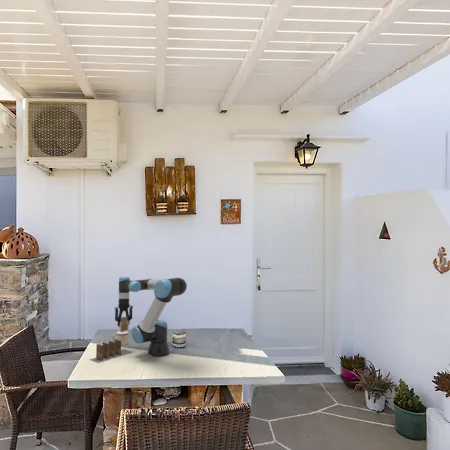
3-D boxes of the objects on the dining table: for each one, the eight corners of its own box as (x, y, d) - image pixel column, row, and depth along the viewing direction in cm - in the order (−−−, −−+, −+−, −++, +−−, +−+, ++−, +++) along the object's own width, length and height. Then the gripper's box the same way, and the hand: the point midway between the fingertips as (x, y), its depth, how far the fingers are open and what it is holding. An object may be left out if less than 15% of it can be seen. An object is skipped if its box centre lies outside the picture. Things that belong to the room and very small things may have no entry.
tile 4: (104, 356, 289) (104, 342, 289) (109, 358, 286) (109, 343, 286) (102, 357, 288) (102, 342, 288) (107, 358, 285) (107, 343, 285)
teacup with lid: (129, 343, 325) (129, 327, 325) (125, 346, 316) (126, 330, 316) (114, 342, 326) (114, 327, 326) (110, 345, 317) (110, 330, 317)
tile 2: (116, 353, 297) (116, 338, 297) (120, 354, 294) (121, 340, 294) (114, 353, 296) (114, 339, 296) (118, 355, 293) (119, 340, 293)
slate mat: (133, 353, 300) (133, 352, 300) (98, 363, 276) (98, 362, 276) (124, 350, 306) (124, 349, 306) (88, 360, 282) (88, 359, 282)
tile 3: (110, 354, 293) (110, 340, 293) (115, 356, 290) (115, 341, 290) (108, 355, 292) (108, 341, 292) (113, 356, 289) (113, 342, 289)
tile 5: (98, 358, 285) (98, 343, 285) (103, 359, 282) (103, 344, 282) (96, 359, 284) (96, 344, 284) (100, 360, 281) (101, 345, 281)
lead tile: (127, 330, 308) (127, 317, 308) (120, 331, 305) (120, 317, 305) (126, 330, 309) (126, 316, 309) (119, 331, 306) (119, 317, 306)
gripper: (133, 296, 316) (132, 327, 316) (110, 298, 304) (109, 330, 304) (137, 297, 310) (137, 329, 310) (114, 299, 299) (113, 332, 299)
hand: (123, 329), depth 307 cm, fingers closed on lead tile, 5 cm apart
